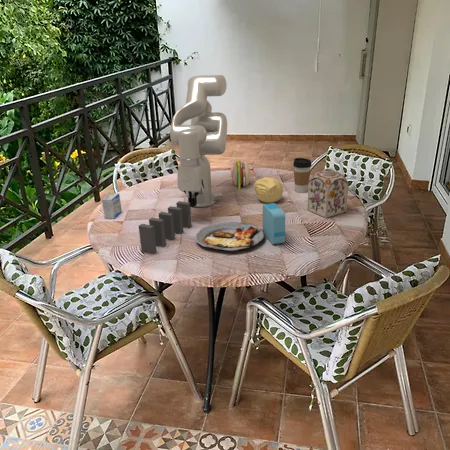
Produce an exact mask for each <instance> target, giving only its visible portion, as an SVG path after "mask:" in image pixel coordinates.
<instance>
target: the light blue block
mask: <svg viewBox="0 0 450 450" xmlns="http://www.w3.org/2000/svg"><path fill="white" fill-rule="evenodd" d="M262 230H263V232H264V234H265V238H266V239H267V240H268V241H269V242H270V244H271V245H279V244H284V243H285V241H286V214H285V211H284V210H282V209H281V208H280V207H279V206H278V204H276V203H275V202H273V203H263V204H262Z"/></svg>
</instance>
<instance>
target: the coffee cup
mask: <svg viewBox="0 0 450 450" xmlns="http://www.w3.org/2000/svg"><path fill="white" fill-rule="evenodd" d="M292 166H293V177H294V178H293V179H294V191H295V193H299V194H302V193H308V186H309V180H310V178H311V168H312V161H311V159H308V158H304V157H296V158H294V160H293V164H292Z"/></svg>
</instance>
